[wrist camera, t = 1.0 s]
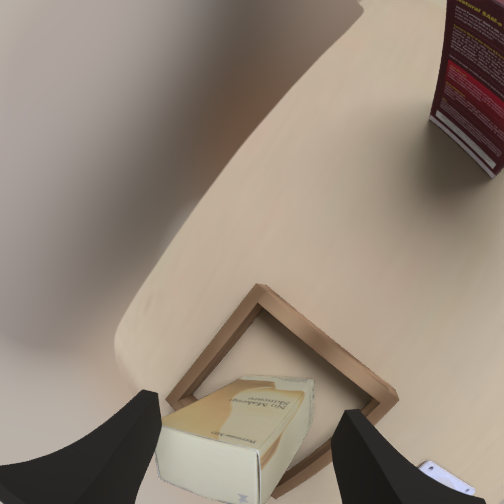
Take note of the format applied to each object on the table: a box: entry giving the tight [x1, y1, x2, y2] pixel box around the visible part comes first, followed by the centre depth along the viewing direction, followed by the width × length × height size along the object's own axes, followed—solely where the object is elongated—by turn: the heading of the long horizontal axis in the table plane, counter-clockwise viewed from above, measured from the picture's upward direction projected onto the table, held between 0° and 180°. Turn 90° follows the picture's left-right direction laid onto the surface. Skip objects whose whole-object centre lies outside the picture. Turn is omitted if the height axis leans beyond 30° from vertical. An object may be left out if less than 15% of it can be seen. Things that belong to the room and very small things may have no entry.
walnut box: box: [165, 284, 399, 499], centre depth 20 cm, size 14×14×2 cm
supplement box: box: [429, 0, 504, 178], centre depth 11 cm, size 9×5×16 cm, turn 39°
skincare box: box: [154, 375, 314, 504], centre depth 15 cm, size 6×4×12 cm
